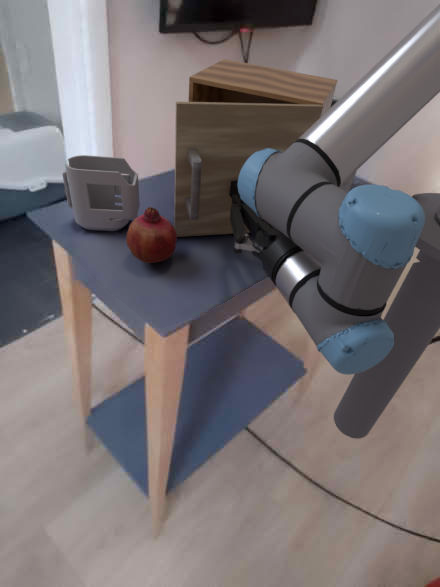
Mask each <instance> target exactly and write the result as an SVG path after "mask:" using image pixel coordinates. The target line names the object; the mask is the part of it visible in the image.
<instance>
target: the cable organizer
mask: <svg viewBox="0 0 440 587" xmlns="http://www.w3.org/2000/svg"><path fill="white" fill-rule="evenodd" d="M67 162H68V163H64V167H65V170H63V172H62V181H63V185H64V191H65V195H66V201H67V206H68V208H70V209H72V211H73V216H74V222H75V223H76V224H77V225H79V226H80V227H82V228H83V229H85V230H91V231H105V232H116V231H120V230H121V229H123V228H124V227H125V226H126V225H128V224H129V222H130V220H134V219H135V218H137V217H138V214H139V209H140V204H141V203H140V202H141V201H140V186H139V185H140V183H139V174H138V172H136V171H135V170H134V169H132V167H131V166H130V164H129V163H128V161H127V160H126V159H125V157H115V156H102V155H101V156H100V155H87V154H86V155H84V154H81V155H74V156H71V157H69V158H67Z"/></svg>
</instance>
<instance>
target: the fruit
mask: <svg viewBox="0 0 440 587" xmlns="http://www.w3.org/2000/svg"><path fill="white" fill-rule="evenodd" d="M177 240H178V237H177V234H176V231H175V229H174V225H172V224H171V222H170V221H169V219H167V218H166V217H164V216H162V215H160V213H159V211H158V209H157V208H155V207H154V208H153V206H148V208H145V211H144V212H143V214H141V215H139V216H137V217H136V218H134V219H132V222H130V224H129V226H128V229H127V232H126V239H125V241H126V244H127V245H126V246H127V247H128V249H129V251H130V252H131V254H132V256H133V257H135V258H136V259H137V260H139V261H141V262H143V263H145V264H146V263H147V264H152V263H153V264H154V263H161V262H164V261H166V260H168V259H170V257H172V255H173V254H174V252H175V250H176V248H177V247H176V246H177V245H176V244H177Z"/></svg>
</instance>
